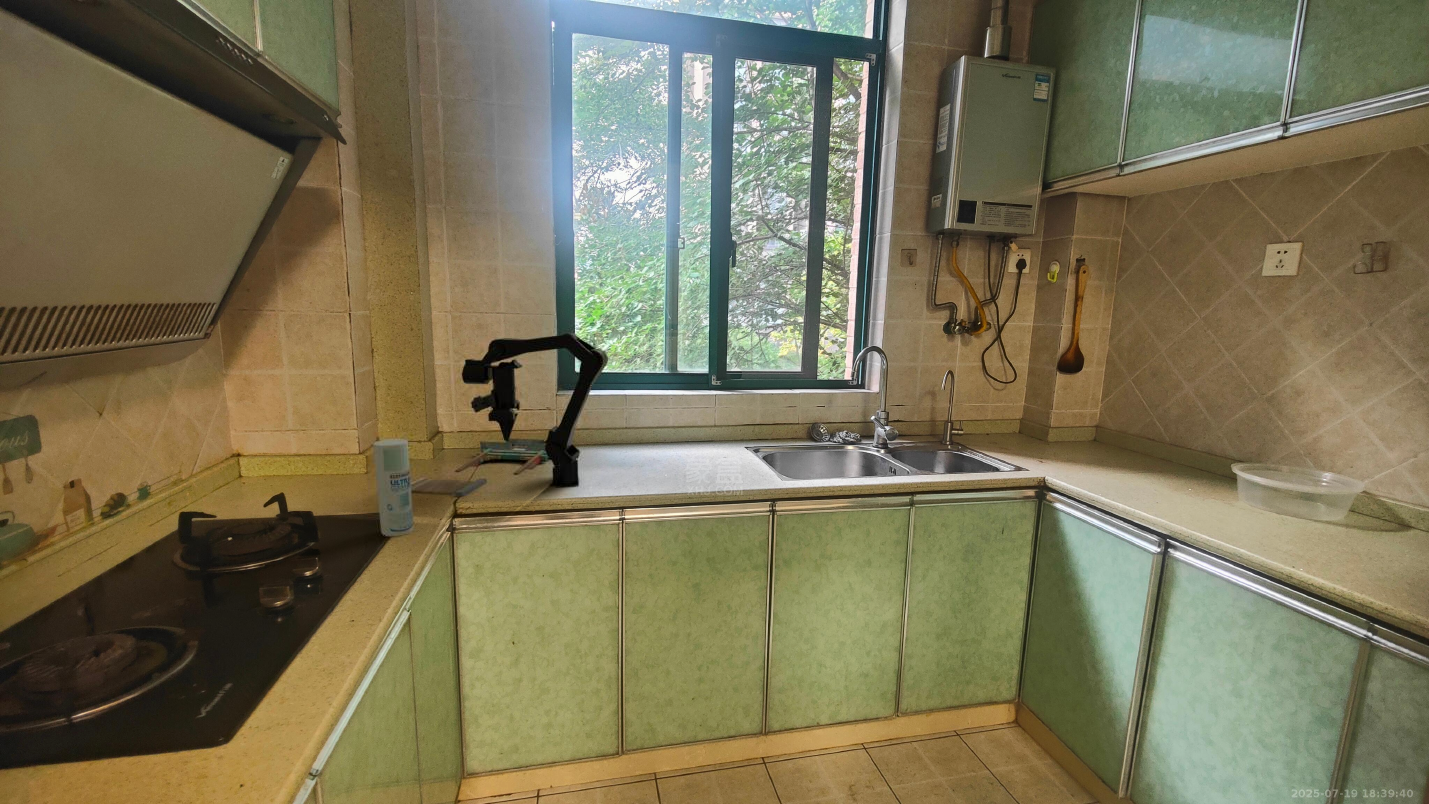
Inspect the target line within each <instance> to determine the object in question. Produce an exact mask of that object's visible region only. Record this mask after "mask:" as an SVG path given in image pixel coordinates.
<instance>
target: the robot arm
mask: <svg viewBox="0 0 1429 804" xmlns="http://www.w3.org/2000/svg"><path fill="white" fill-rule="evenodd" d="M559 349H561V350H562V349H566V350H567V351H569V353H570V354H572V355H573V357H574V358H576V359H577V360H578V361H580V366H579V370H578V371H579V372H578V380H577V382H576V385H575V387H574V389H573V391H572V393H571V397H570V398H569V402H568V404H567V406H566V409H565V411H564V413H563V415H562V418H561V421H560V423H559V424H558V425H554V426H553V427H552V428H550V429H549V431H548V434H547V437H546V440H544V444H546V445H545V451H546V453H547V455H548V456H549V457H550V458H551V462H552V464H553V466H552V483H553V484H554V487H555V486H560V487H574V485H578V486H579V485H580V478H579V460H578V459H579V457H580V454H581V450H580V449H578V447H576V446H575V445H574V444H573V442H574V438H575V437H574V436H575V429H576V426H577V424H578V421H579V418H580V416H581V413H582V412H583V409H584V406H585V404H586V401H587V399H588V396H589V394H590V392H591V390H592V388H593V385H594V383H595V381H596V380H597V379H598V378H599V376H600V375H601V374H602V372H603V371H604V369H605V368H606V366H607V364H608V361H609V358H608V355H607V353H606V352H605V350H603V349H601V348H595V347H594V346H592V345H591V344H590V343H588V342H586V340H583V339H582V338H581V337H579V336H578V335H577V334H575V333H574V332H567V333H564V334H558V335H550V336H542V337H535V338H528V339H526V338H525V339H524V338H517V337H516V338H513V337H511V338H510V337H504V338H502V337H501V338H497V339H493V340H491V341H490V343H489V344H488V346H487V350H488V351H487V352H486V354H485V355H484V356H483V358H482V359H474V358H467V359H465V360H464V365H463V367H462V372H461V378H462V381H463V383H464V384H465V385H488V384H489V383H490V381H491V382H492V389H491V390H490V393H488V394H485V395H483V396H481V395H478V396H474V397H473V400H472V401H470V404H471V409H473V411H474V413H475V414H476V413H480V412H481V411H483V410H485V409H489V408H490V409H491V410H490V411H489V413H488V414H487V417H488V422H496V423H498V424H499V428H500V431H501V435H502V438H503V441H504V442H506V441H508V440H509V438H511V435H512V432H513V429H514V426H515V425H516V420H517V418H518V416H519V413H517V412H515V410H514V409H516V411H520V410H521V402H520V401H519V399H516V398H517V397H516V391H517V387H516V379H515V378H516V376H515V370H517V369H521V368H523V364H521V363H519V362H518V360H517V359H515V357H518V356H521V355H525V354H530V353H536V352H543V351H551V350H554V351H555V350H559ZM513 358H514V359H513ZM508 359H512V360H511V361H504V360H508ZM498 362H499V363H498ZM495 363H498V364H495ZM494 364H495V365H494Z"/></svg>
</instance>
